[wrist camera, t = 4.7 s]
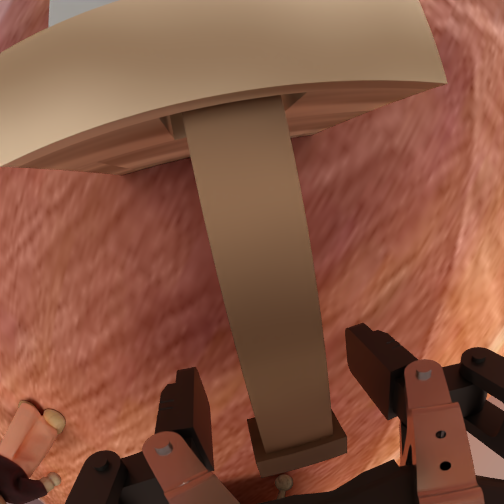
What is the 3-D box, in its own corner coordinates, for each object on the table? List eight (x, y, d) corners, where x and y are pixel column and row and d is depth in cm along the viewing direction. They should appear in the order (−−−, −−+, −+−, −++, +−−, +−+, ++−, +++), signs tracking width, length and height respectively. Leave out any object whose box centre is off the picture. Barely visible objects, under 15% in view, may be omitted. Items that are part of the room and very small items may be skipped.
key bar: (171, 119, 9) (160, 98, 6) (275, 99, 9) (296, 75, 7) (252, 435, 11) (261, 477, 9) (326, 414, 12) (347, 452, 9)
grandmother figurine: (69, 403, 19) (10, 535, 6) (82, 438, 19) (42, 563, 7) (-5, 389, 18) (-76, 487, 5) (10, 423, 18) (-45, 521, 6)
